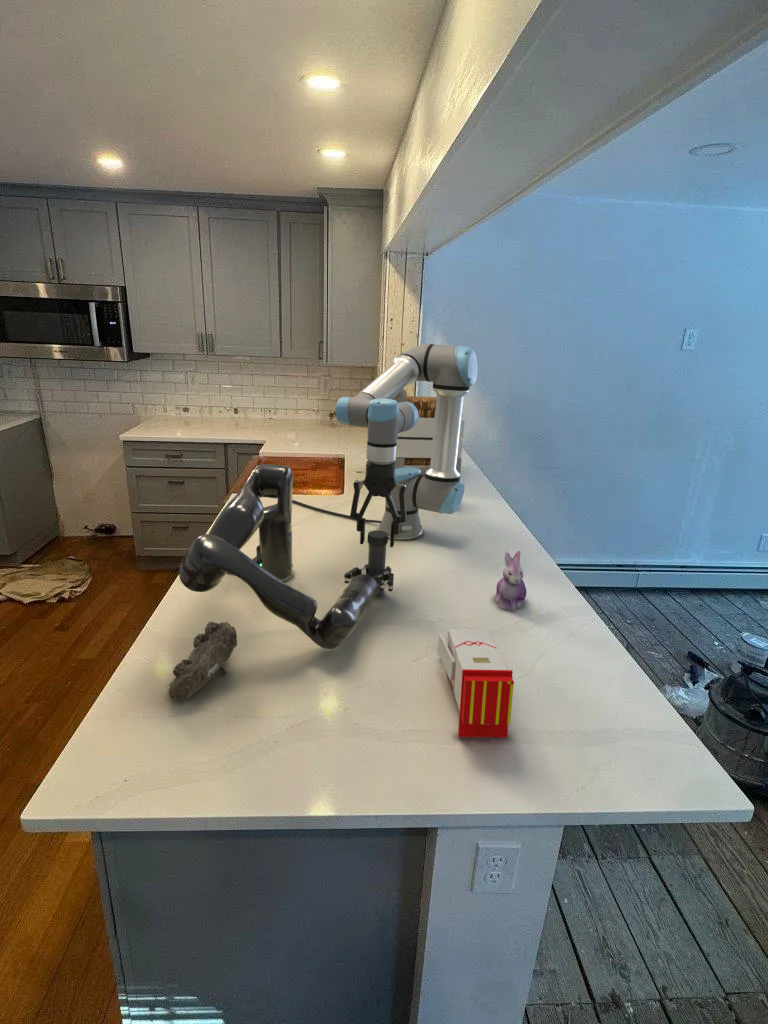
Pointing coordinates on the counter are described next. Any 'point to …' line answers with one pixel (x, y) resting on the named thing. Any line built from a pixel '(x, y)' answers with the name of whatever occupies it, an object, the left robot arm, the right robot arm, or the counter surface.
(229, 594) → the counter surface
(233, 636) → the fossil
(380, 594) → the jar
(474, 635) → the toy
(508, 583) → the figurine
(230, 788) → the counter surface
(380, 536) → the lid
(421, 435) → the white slatted crate
